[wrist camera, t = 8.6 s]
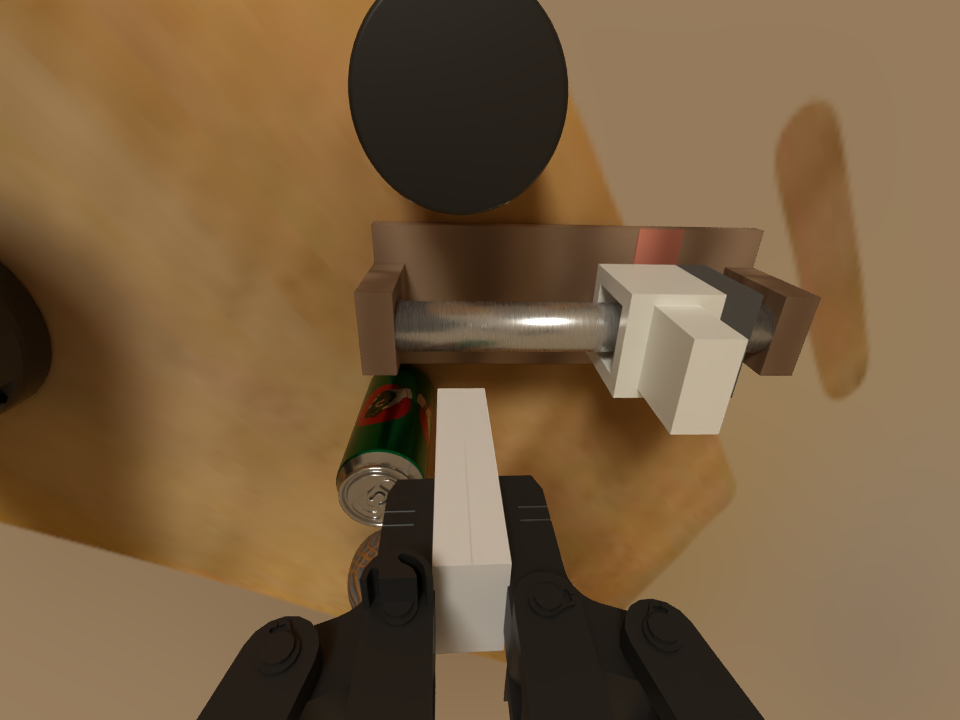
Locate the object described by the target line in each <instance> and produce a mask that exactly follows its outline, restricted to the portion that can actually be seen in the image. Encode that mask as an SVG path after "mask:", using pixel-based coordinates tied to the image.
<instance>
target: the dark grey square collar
mask: <svg viewBox="0 0 960 720" xmlns="http://www.w3.org/2000/svg"><path fill="white" fill-rule="evenodd" d="M676 266H678V267H680V268H681V269H683V270H685V271H686V272H688V273H690V274H692V275H693V276H695V277H697V278H698V279H700V280H702V281H704V282H705V283H707V284H709V285H710V286H712V287H714V288H716V289H717V290H719V291H721V292H722V293H724V294H726V295H727V296H726V300H725V303H724V307H723V310H722V314H721V318H720V320H721V321H722V322H724V323H725V324H727V325H728V326H730V327H731V328H732V329H734V330H735V331H737V332H738V333H740V334H741V335H743V336H744V337H745V338H747V339H748V343H747V346H746V349H745V352H744V356H743V359H742V362H741V365H740V368H739V371H738V374H737V378H736V381H735V384H734V387H733V390H732V393H731V397H732V395H733V391H734V388H735V385H736V382H737V379H738V376H739V372H740V370H741V366H742V363H743V360H744V357H745V354H746V351H747V348H748V344H749V341H750V338H751V335H752V332H753V329H754V326H755V322H756V319H757V316H758V313H759V310H760V307H761V304H762V300H763V297H764V295H762V294H760V293H758V292H756V291H755V290H753V289H751V288H749V287H747V286H745V285H743V284H741V283H739V282H737V281H735V280H733V279H731V278H729V277H727V276H725V275H723V274H721V273H719V272H717V271H715V270H714V269H712V268H710V267H708V266H706V265H676ZM731 397H730V398H731Z"/></svg>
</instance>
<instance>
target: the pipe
mask: <svg viewBox="0 0 960 720" xmlns="http://www.w3.org/2000/svg"><path fill="white" fill-rule="evenodd" d="M622 307H623V306H622V305H621V304H620V303H612V302H504V301H397V302H396V305H395V315H394V334H395V345H396V349H397V351H440V352H615V347H616V341H617V335H618V329H619V324H620V318H621V312H622ZM774 330H775V323H774V317H773V314H772V312H771V311H770V309H769V308H768V307H767V306H765V305H763V304H761V307H760V310H759V313H758V316H757V319H756V322H755V326H754V329H753V332H752V335H751V338H750V341H749V344H748V348H747V351H746V353H759V352H762V351H764V350H765V349H766V348H767V347H768V346H769V345H770V343H771V341H772V339H773V336H774Z"/></svg>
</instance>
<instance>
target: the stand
mask: <svg viewBox="0 0 960 720" xmlns="http://www.w3.org/2000/svg"><path fill="white" fill-rule="evenodd" d="M371 226H372V238H373V251H374V264H373V266H372V267H371V269H370V270H369V272H368V273H367V274H366V276H365V277H364V279H363V280H362V282H361V283H360V285H359V286H358V288H357V289H356V291H355V292H354V297H355V306H356V316H357V326H358V335H359V345H360V354H361V364H362V374H363V375H397V374H398V370H399V366H400V363H424V364H593V363H592V361H591V360H590V358H589V356H588V355H587V353H586V352H440V351H397V349H396V345H395V334H394V315H395V305H396V302H397V301H504V302H593V298H594V291H595V284H596V277H597V270H598V264H649V265H706V266H708V267H710V268H712V269H714V270H715V271H717V272H719V273H721V274H723V275H725V276H727V277H729V278H731V279H733V280H735V281H737V282H739V283H741V284H743V285H745V286H747V287H749V288H751V289H753V290H755V291H756V292H758V293H760V294H762V295H764V297H763V300H762V304H763V305H765V306H767V307H768V308H769V309H770V311H771V312H772V314H773V317H774V323H775V330H774V336H773V339H772V341H771V343H770V345H769V346H768V347H767V348H766V349H765V350H764V351H762V352H759V353H746V354H745V357H744V360H743V363H745V364H746V365H747V366H748V367H750V368H751V369H752V370H753V371H755V372H756V373H758V374H759V375H761V376H765V375H766V376H790V375H792V373H793V370H794V368H795V365H796V362H797V360H798V357H799V354H800V352H801V349H802V347H803V344H804V341H805V339H806V336H807V333H808V331H809V328H810V325H811V323H812V320H813V317H814V315H815V312H816V309H817V307H818V304H819V301H820V299H821V297H819V296H816V295H814V294H812V293H810V292H807V291H805V290H803V289H800V288H798V287H796V286H794V285H791V284H789V283H787V282H784V281H782V280H780V279H777V278H775V277H773V276H771V275H768V274H766V273H764V272H762V271H759V270H757V269H755V268H753V266H754V263H755V259H756V256H757V252H758V249H759V246H760V242H761V239H762V236H763V232H764V231H763V230H759V229H756V228H717V227H715V228H713V227H660V226H657V227H655V226H605V225H550V224H494V223H438V222H382V221H374V222H373V223H372V224H371Z"/></svg>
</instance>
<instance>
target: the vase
mask: <svg viewBox="0 0 960 720" xmlns="http://www.w3.org/2000/svg"><path fill="white" fill-rule="evenodd" d="M380 536H381V530H380V531H377V532H375V533H374V534H372V535H370V536H369V537H368V538H367V539H366V540H365V541H364V542H363V543H362V544H361V545H360V547H359V548H358V550H357V551H356V553H355V555H354V557H353V560H352V563H351V566H350V569H349V574H348V596H349V601H350V604H351V607H352V609H353V608H355V607H356V606H357V605H359V603H360V602H361V601H362V597H361V589H360V581H359V579H360V577H361V574H362V572H363V570H364V567H365V566H366V565H367V564H368V563H369V562H370V561H371V560H372V559H373V558H374V557H376V556H377V555H378V549H379V543H380Z"/></svg>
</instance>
